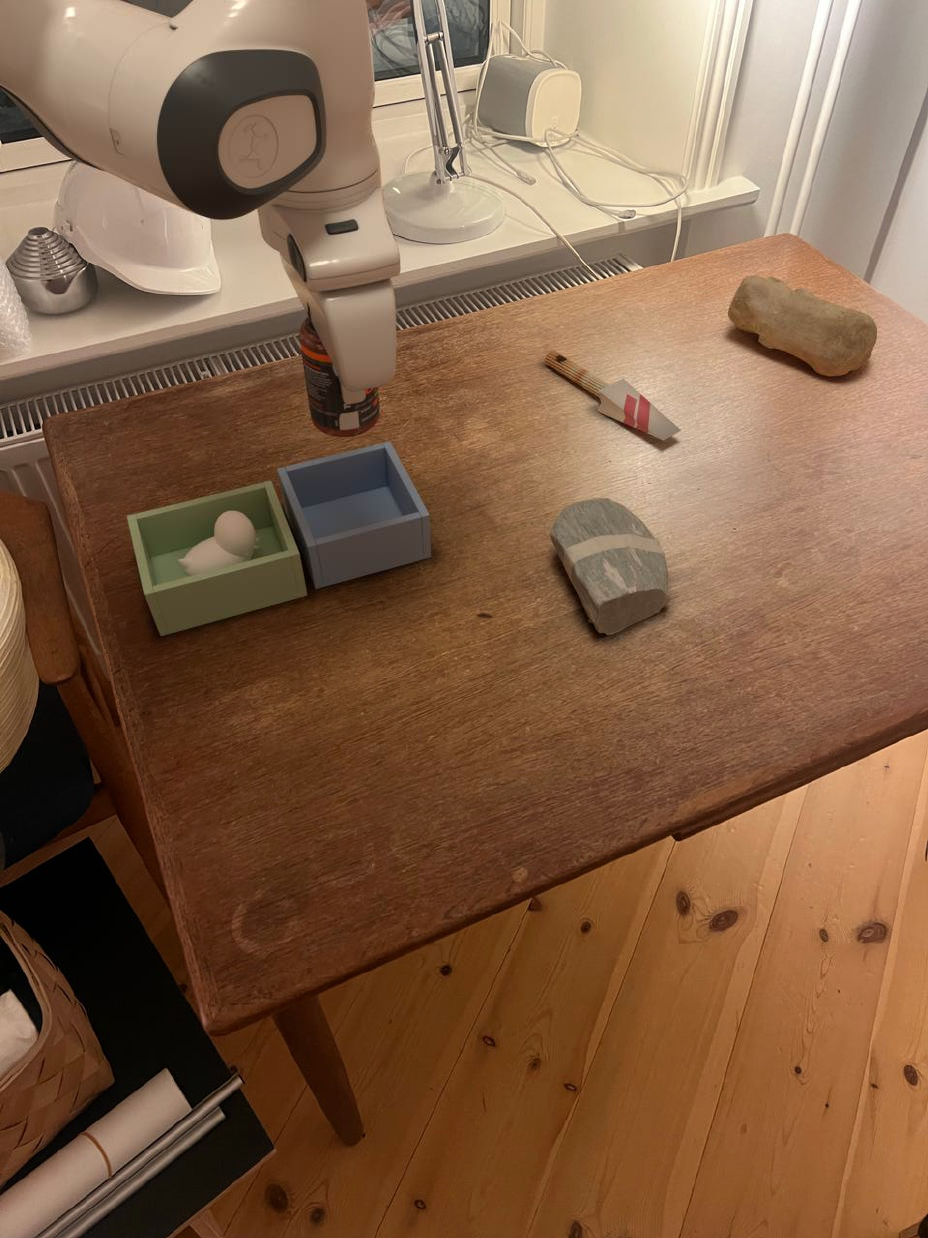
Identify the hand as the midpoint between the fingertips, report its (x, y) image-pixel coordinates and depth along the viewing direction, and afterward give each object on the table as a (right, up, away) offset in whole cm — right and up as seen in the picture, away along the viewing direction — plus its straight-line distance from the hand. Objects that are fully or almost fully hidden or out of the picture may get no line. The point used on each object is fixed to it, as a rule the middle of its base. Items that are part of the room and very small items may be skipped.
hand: (340, 373), depth 75 cm
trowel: (+27, +4, +30) cm, 40 cm away
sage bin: (-13, -16, +12) cm, 24 cm away
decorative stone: (+24, -17, +12) cm, 31 cm away
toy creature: (-12, -16, +12) cm, 23 cm away
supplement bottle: (0, -3, +4) cm, 5 cm away
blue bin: (0, -12, +16) cm, 20 cm away
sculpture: (+50, +12, +37) cm, 64 cm away
